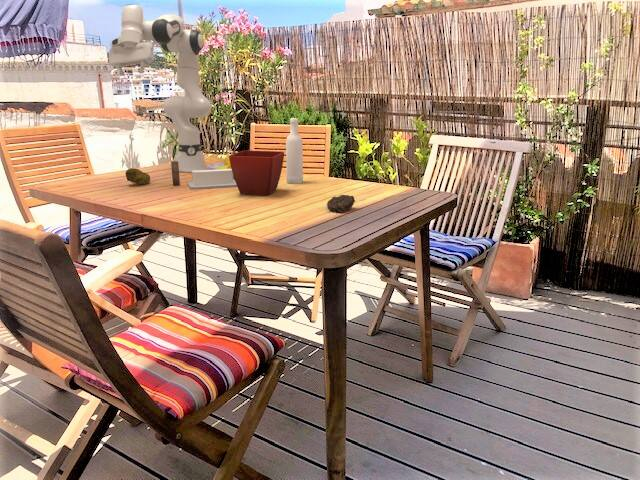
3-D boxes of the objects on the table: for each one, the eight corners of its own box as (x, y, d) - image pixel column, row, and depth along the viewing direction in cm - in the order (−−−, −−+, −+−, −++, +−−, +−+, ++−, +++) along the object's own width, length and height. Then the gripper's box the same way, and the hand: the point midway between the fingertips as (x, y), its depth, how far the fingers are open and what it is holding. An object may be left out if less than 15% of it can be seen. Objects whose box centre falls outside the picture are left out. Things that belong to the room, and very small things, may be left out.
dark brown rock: (338, 205, 205) (338, 192, 203) (359, 209, 199) (359, 195, 197) (319, 210, 196) (319, 197, 195) (341, 214, 190) (341, 200, 189)
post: (172, 185, 245) (170, 161, 242) (179, 184, 246) (177, 161, 243) (173, 186, 242) (171, 162, 239) (180, 185, 243) (178, 161, 240)
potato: (156, 183, 248) (155, 167, 246) (131, 187, 239) (129, 170, 237) (147, 181, 254) (146, 165, 251) (122, 185, 245) (120, 168, 242)
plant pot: (273, 197, 218) (272, 156, 213) (229, 195, 221) (227, 155, 217) (285, 189, 236) (285, 151, 231) (245, 187, 239) (243, 150, 235)
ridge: (187, 184, 247) (186, 169, 245) (233, 181, 254) (233, 167, 252) (190, 189, 234) (189, 174, 232) (239, 186, 241) (239, 171, 239)
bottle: (302, 184, 248) (302, 118, 240) (285, 184, 248) (284, 118, 240) (303, 181, 256) (302, 117, 247) (287, 181, 256) (286, 117, 248)
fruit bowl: (198, 179, 260) (196, 156, 257) (223, 171, 285) (222, 150, 282) (250, 182, 252) (249, 158, 249) (271, 173, 277) (270, 152, 274)
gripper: (157, 42, 222) (157, 74, 221) (116, 48, 228) (115, 79, 227) (148, 35, 216) (148, 68, 215) (106, 42, 222) (105, 74, 220)
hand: (131, 74), depth 221 cm, fingers open, 8 cm apart
